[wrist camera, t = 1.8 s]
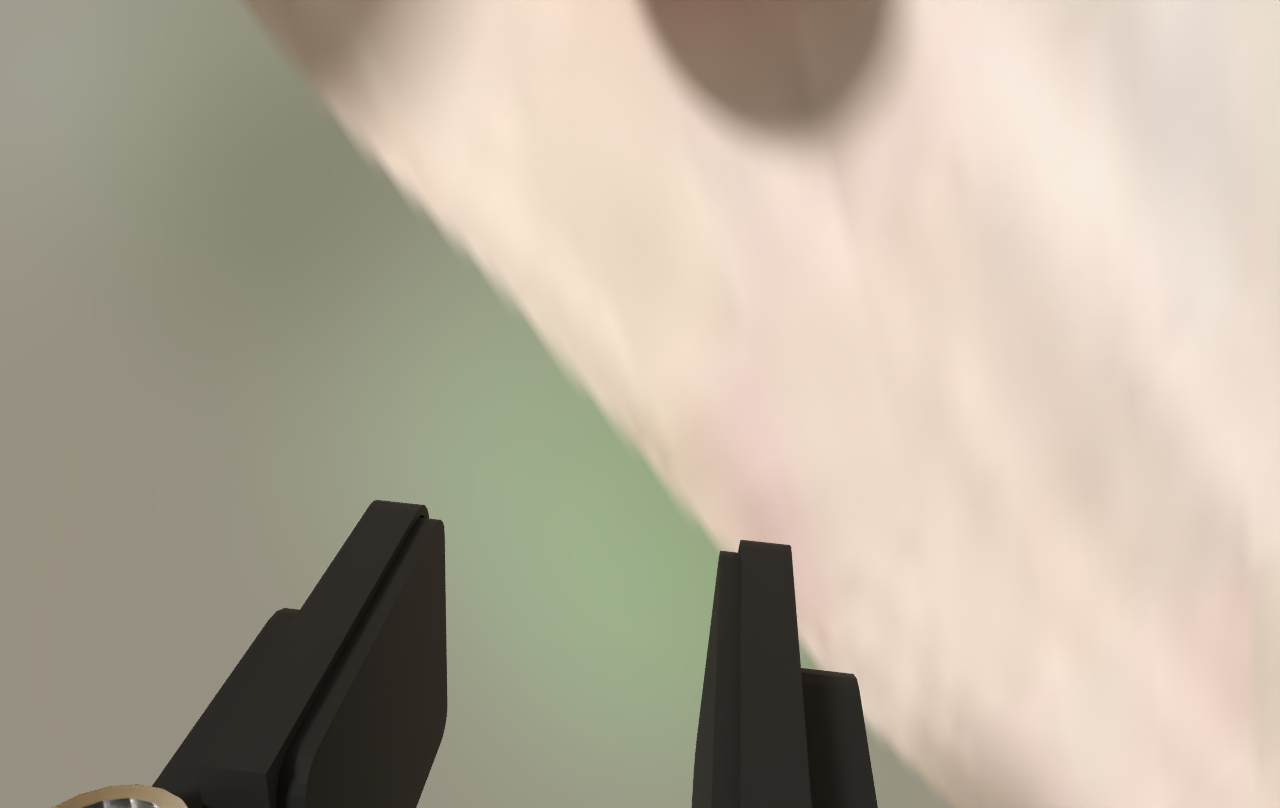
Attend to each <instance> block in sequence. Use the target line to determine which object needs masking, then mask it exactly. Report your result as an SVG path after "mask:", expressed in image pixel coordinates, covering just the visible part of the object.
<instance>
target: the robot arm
mask: <svg viewBox="0 0 1280 808" xmlns="http://www.w3.org/2000/svg"><path fill="white" fill-rule="evenodd" d="M444 535H445V534H444V525H443V522H442V521H441V520H436V519H429V514H428V510H427V508H426V507H425V505H418V504H409V503H399V502H390V501H381V500H376V501H373V502H372V503H371V504H370V506H369V507H368V509H367V510H366V512H365V513H364V515H363V516H362V518H361V519H360V521H359V522H358V524H357V525H356V527H355V528H354V530H353V531H352V533H351V535H350V536H349V537H348V539H347V540H346V542H345V543H344V545H343V546H342V548H341V549H340V551H339V552H338V554H337V555H336V557H335V558H334V560H333V561H332V563H331V564H330V566H329V567H328V569H327V570H326V572H325V573H324V575H323V576H322V578H321V579H320V581H319V582H318V584H317V585H316V587H315V588H314V590H313V591H312V593H311V594H310V596H309V597H308V599H307V600H306V602H305V604H304V605H303V606H302V608H301V609H300V610H297V609H288V608H284V609H281V610H279V611H277V612H276V613H275V614H274V615H273V616H272V617H271V618H270V619H269V620H268V622H267V623H266V625H265V626H264V627H263V629H262V631H261V632H260V633H259V635H258V636H257V637H256V639H255V640H254V642H253V643H252V645H251V646H250V647H249V649H248V650H247V652H246V653H245V655H244V656H243V657H242V659H241V660H240V662H239V663H238V665H237V666H236V667H235V669H234V670H233V672H232V673H231V674H230V676H229V677H228V679H227V680H226V682H225V683H224V684H223V686H222V687H221V689H220V690H219V692H218V693H217V694H216V696H215V697H214V699H213V700H212V702H211V703H210V704H209V706H208V707H207V709H206V710H205V712H204V713H203V714H202V716H201V717H200V719H199V720H198V722H197V723H196V724H195V726H194V727H193V729H192V730H191V731H190V733H189V734H188V736H187V737H186V739H185V740H184V741H183V743H182V744H181V746H180V747H179V749H178V750H177V752H176V753H175V754H174V756H173V757H172V759H171V760H170V761H169V763H168V764H167V766H166V767H165V768H164V770H163V771H162V773H161V774H160V776H159V777H158V779H157V780H156V781H155V783H154V784H153V786H152V787H150V786H144V785H139V784H135V785H121V786H109V787H105V788H102V789H98V790H94V791H91V792H87V793H83V794H80V795H78V796H76V797H74V798H72V799H69V800H67V801H65V802H63V803H61V804H59V805H57V806H55V807H53V808H416V806H417V804H418V801H419V799H420V796H421V793H422V791H423V788H424V785H425V783H426V780H427V777H428V775H429V772H430V770H431V767H432V764H433V762H434V759H435V756H436V754H437V751H438V748H439V746H440V743H441V740H442V737H443V733H444V729H445V723H446V717H447V659H446V657H447V656H446V596H445V595H446V594H445V537H444ZM692 808H878V807H877V800H876V794H875V787H874V781H873V774H872V768H871V762H870V755H869V749H868V743H867V736H866V730H865V723H864V717H863V710H862V704H861V698H860V691H859V686H858V682H857V678H856V677H855V676H854V674H848V673H839V672H831V671H822V670H813V669H805V668H801V665H800V652H799V640H798V627H797V615H796V602H795V590H794V577H793V565H792V552H791V546H790V545H784V544H774V543H765V542H756V541H747V540H741V541H740V545H739V550H738V553H736V552H727V551H720V554H719V562H718V570H717V577H716V586H715V594H714V602H713V610H712V618H711V627H710V635H709V643H708V651H707V660H706V668H705V676H704V684H703V693H702V700H701V709H700V717H699V725H698V733H697V742H696V752H695V765H694V779H693V796H692Z"/></svg>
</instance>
